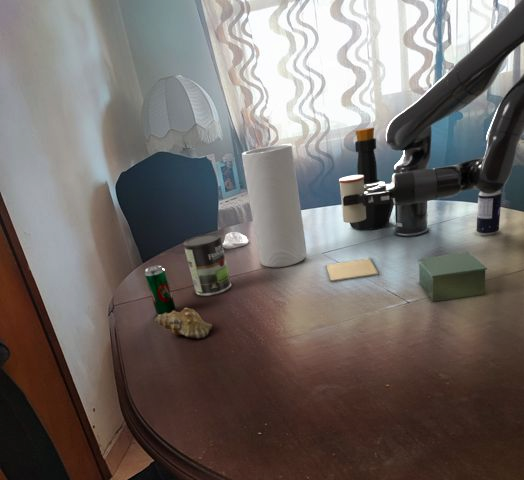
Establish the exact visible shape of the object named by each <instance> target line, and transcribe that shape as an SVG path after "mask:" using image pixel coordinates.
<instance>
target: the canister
mask: <svg viewBox="0 0 524 480" xmlns="http://www.w3.org/2000/svg"><path fill="white" fill-rule="evenodd" d="M338 182H339V188H340V189H339V190H340V198H341V200H340V201H341V210H342V221H343V223H348V224H350V223H354V222H359V221H363V220H365V219H366V207H365V206H363V205H360V203H359V204H355V205H349V206H344V205H343V197H344V196H348V195H354V194H360V193H363V192H364V175H358V174H353V175H347V176H344V177H341V178H339V179H338Z"/></svg>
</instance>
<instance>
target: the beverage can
mask: <svg viewBox="0 0 524 480" xmlns="http://www.w3.org/2000/svg"><path fill="white" fill-rule="evenodd" d="M502 193H503V192H502V191H501V189H500V190H499V191H497V192H495V193H492V194H485V193H482V192H480V191H479V193H478V195H477V210H476V211H477V213H476V229H475V230H476V232H477V233H478V234H479V235H481V236H493V235H495V234H496V233H497V232H498V231H499V230H500V221H501V207H502Z"/></svg>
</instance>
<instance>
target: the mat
mask: <svg viewBox="0 0 524 480" xmlns="http://www.w3.org/2000/svg"><path fill="white" fill-rule="evenodd" d="M326 269H327V273H328V276H329V279H330V282H337V281H338V282H339V281H344V280H351V279H357V278H358V279H359V278H364V277H370V276H371V277H372V276H379V272H378V270H377V268H376V266H375V265H374V263H373V261H372V259H371V258H363V259H357V260H350V261H344V262H337V263H336V262H335V263H330V264H326Z"/></svg>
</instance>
